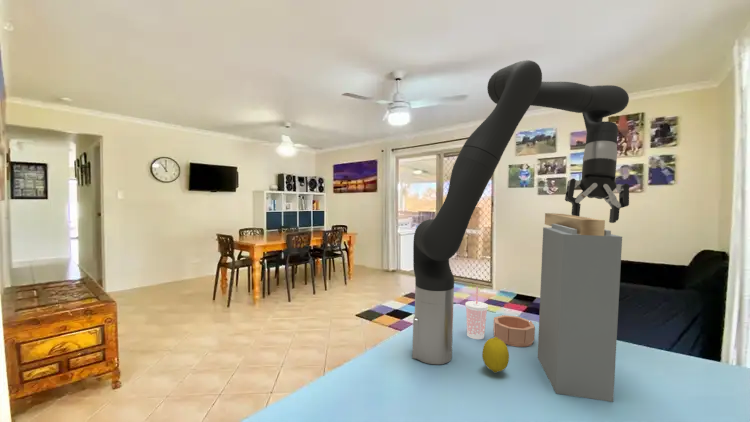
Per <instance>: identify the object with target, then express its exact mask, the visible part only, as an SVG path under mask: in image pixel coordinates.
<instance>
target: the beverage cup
mask: <svg viewBox="0 0 750 422" xmlns="http://www.w3.org/2000/svg"><path fill="white" fill-rule="evenodd" d="M475 290H476V291H475V300H468V301H465V303H464V304H465V306H464V307H466V335H467V337H469V338H470V339H473V340H483V339H485V332H486V321H487V312H488V310H489V305H488V303H486V302H483V301H479V300H478V299H479V286H475Z"/></svg>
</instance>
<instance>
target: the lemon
mask: <svg viewBox="0 0 750 422" xmlns="http://www.w3.org/2000/svg"><path fill="white" fill-rule="evenodd" d="M481 356H482V360H483V363H484V365H485V366H486V368H488V369H489V370H491V371H492V372H493V374H495V373H496V374H497V373H498V372H502V371H504V370H505V369H506V368H507V367H508V365H509V361H510V354H509V348H508V345H507V344H505V343H504V342H503V341H502V340H500V339H498V337H494V336H493V337H491V338H489V339H487V340H486V341H485V342H484V345H483V348H482V355H481Z"/></svg>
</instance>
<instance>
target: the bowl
mask: <svg viewBox="0 0 750 422" xmlns="http://www.w3.org/2000/svg"><path fill="white" fill-rule="evenodd" d="M529 321H530V322H529ZM492 325H493V327H492V331H493V338H494V337H498V339H500V340H502V341H503V342H504V343H505V344H506V346H512V347H515V348H516V347H517V348H526V347H530V346H532V345H533V344H534V341H535V337H536V335H535V333H536V327H535V324H534V323H533V321H531V320H528V319H526V318H523V317H520V316H515V315H506V314H502V315H498V316H495V317H493V324H492Z"/></svg>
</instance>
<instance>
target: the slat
mask: <svg viewBox="0 0 750 422" xmlns="http://www.w3.org/2000/svg"><path fill="white" fill-rule="evenodd" d="M552 224H558V225H562V226H566V227H570V228H573V229H577V234H579V235H593V236H604V229H605V228H606V227H605V226H606V219H605V220H604V219H599V218H592V217H587V216H581V215H580V216H574V215H572V214H567V213H556V212H555V213H554V212H552V213H549V212H547V213H545V212H544V225H546V226H548V227H552ZM605 230H606V229H605Z"/></svg>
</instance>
